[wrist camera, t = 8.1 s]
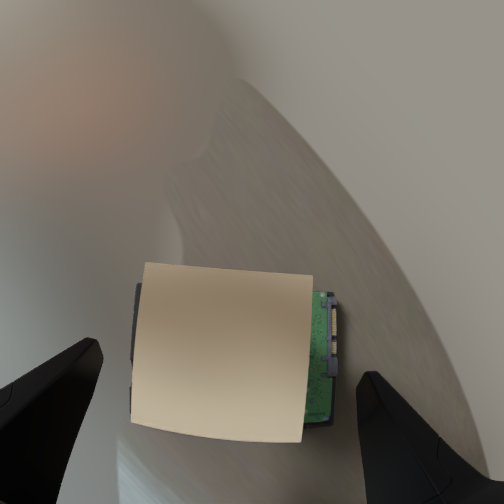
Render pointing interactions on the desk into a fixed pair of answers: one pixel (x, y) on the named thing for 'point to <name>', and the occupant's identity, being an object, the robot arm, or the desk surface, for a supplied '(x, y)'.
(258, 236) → the desk surface
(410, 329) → the desk surface
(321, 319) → the disk drive
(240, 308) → the maple block
